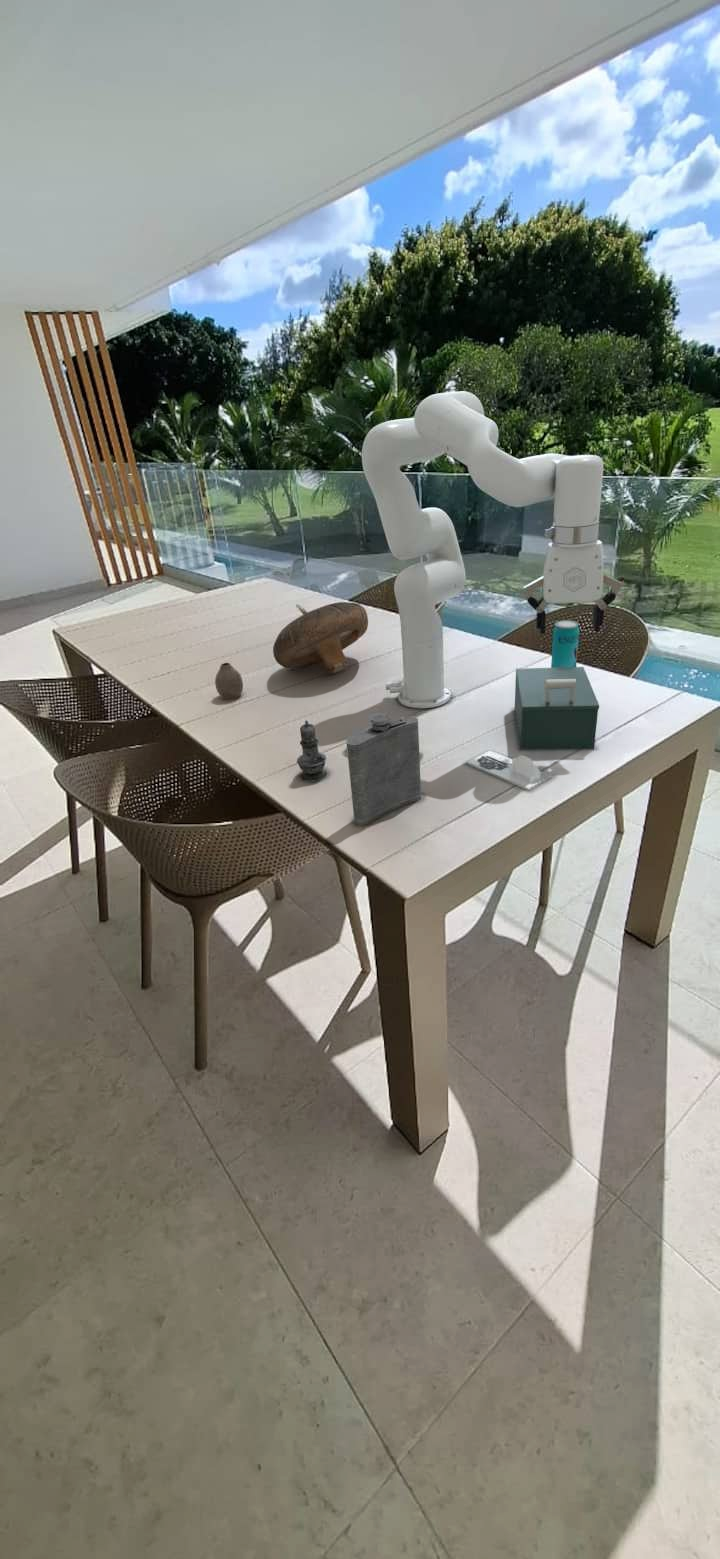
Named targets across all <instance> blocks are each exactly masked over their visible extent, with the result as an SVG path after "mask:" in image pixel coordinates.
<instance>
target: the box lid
mask: <svg viewBox="0 0 720 1559" xmlns="http://www.w3.org/2000/svg"><path fill="white" fill-rule="evenodd" d="M516 675H517V681H518V687H519V693H520V699H521V705H522V710H523V711H527V710H583V709H598V710H600V704H599V701H598V699H597V697H596V694H595V691H594V689H593V687H592V684H591V682H590V679H589V677H588V674H587V673H586V670H585V668H584V666H576V667H562V668H551V667H531V668H529V667H527V668H526V667H525V668H515V676H516Z"/></svg>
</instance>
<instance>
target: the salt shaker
mask: <svg viewBox="0 0 720 1559" xmlns="http://www.w3.org/2000/svg"><path fill="white" fill-rule="evenodd" d="M299 732H300V742H299V745H300V746H301V749H302V754H300V755H299V756H298V757H297V759H296V763H297V765H298V767H299V769H300V770H301V773H300V776H299V777H300V779H301V780H302V781H304V782H308V783H309V782H312V783H313V782H319V781H322V780H323V779H325V778H326V777H327V775H328V772H327V771H326V769H324V768H325V765H326V761H327V756H326V754H324V753H322V752H320V750H319V746H318V743H319V741H320V740H319V739H318V738H317V734H316V728H315V725H313V723H309V721H308V720H307V719H306V720H305V721H304V724H302V725H301V726H300V727H299Z"/></svg>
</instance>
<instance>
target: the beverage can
mask: <svg viewBox="0 0 720 1559" xmlns="http://www.w3.org/2000/svg"><path fill="white" fill-rule="evenodd" d="M579 628H580V627H579V622H578V621H575V620H569V619H567V620H566V619H565V620H564V619H563V620H559V621H556V622H555V623H554V628H553V631H552V632H553V633H552V647H551V648H552V649H551V663H550V668H562V667H577V662H578V649H579V637H580V629H579Z"/></svg>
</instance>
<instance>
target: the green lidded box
mask: <svg viewBox="0 0 720 1559" xmlns="http://www.w3.org/2000/svg"><path fill="white" fill-rule="evenodd" d="M514 685H515V686H514V689H515V690H514V714H515V722H516V728H517V735H518V742H519V749H520V750H594V749H595V744H596V734H597V726H598V716H599V709H583V710H527V711H523V710H522V705H521V699H520V693H519V687H518V681H517V675H516V674H515V684H514Z"/></svg>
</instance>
